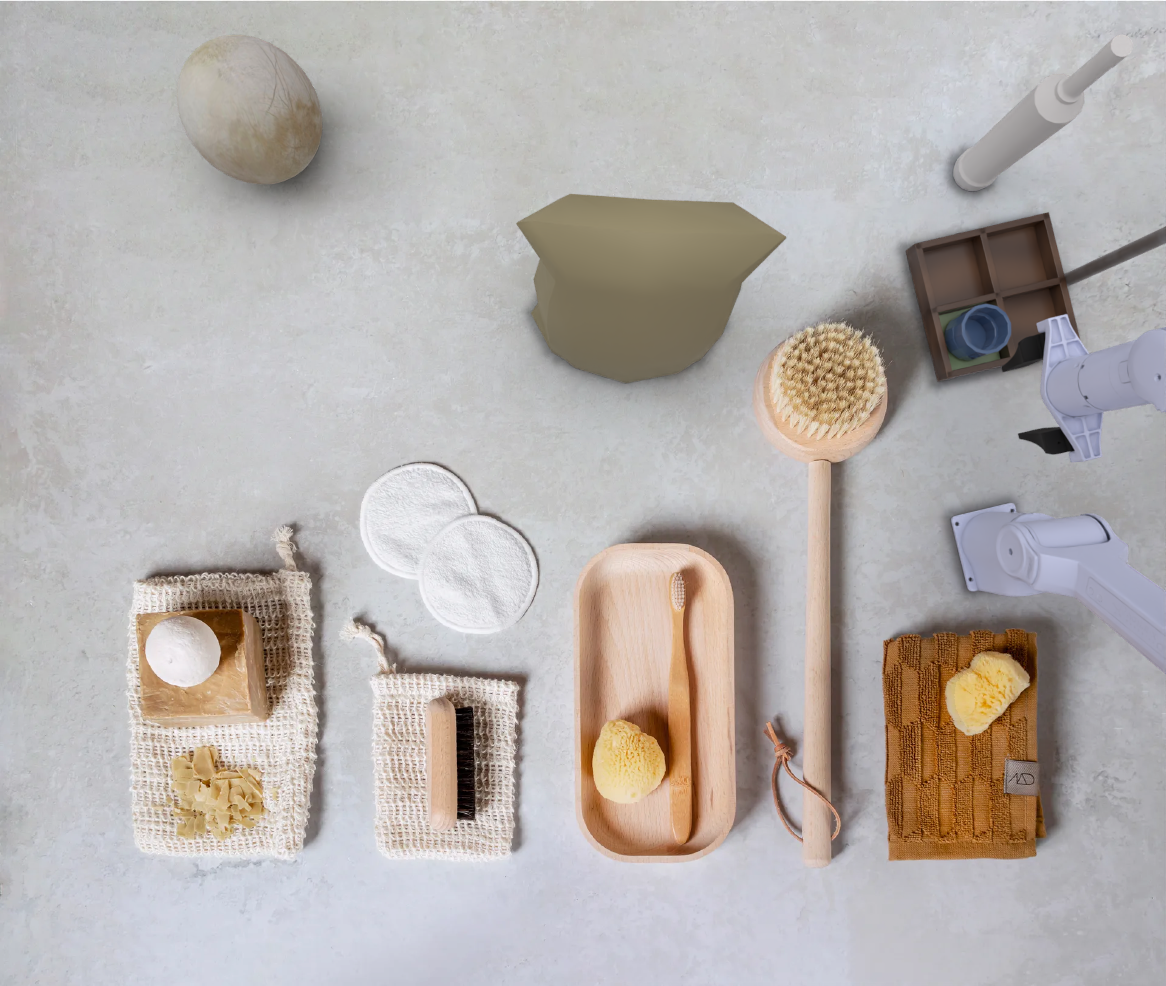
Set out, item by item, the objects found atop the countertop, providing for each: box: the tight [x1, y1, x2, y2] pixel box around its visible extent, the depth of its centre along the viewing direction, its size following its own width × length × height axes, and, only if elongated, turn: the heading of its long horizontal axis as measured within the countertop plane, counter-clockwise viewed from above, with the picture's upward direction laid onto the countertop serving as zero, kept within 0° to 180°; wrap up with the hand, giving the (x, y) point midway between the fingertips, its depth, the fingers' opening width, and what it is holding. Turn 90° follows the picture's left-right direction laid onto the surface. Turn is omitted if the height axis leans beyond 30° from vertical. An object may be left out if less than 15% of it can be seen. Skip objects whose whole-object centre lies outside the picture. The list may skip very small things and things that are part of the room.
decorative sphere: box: [176, 34, 323, 185], centre depth 82 cm, size 15×15×15 cm
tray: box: [905, 211, 1166, 382], centre depth 79 cm, size 17×19×23 cm
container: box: [515, 193, 787, 384], centre depth 75 cm, size 24×17×30 cm
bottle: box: [952, 34, 1134, 192], centre depth 78 cm, size 5×5×25 cm
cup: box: [945, 304, 1011, 361], centre depth 87 cm, size 6×6×4 cm
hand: (1018, 400), depth 81 cm, fingers open, 7 cm apart
